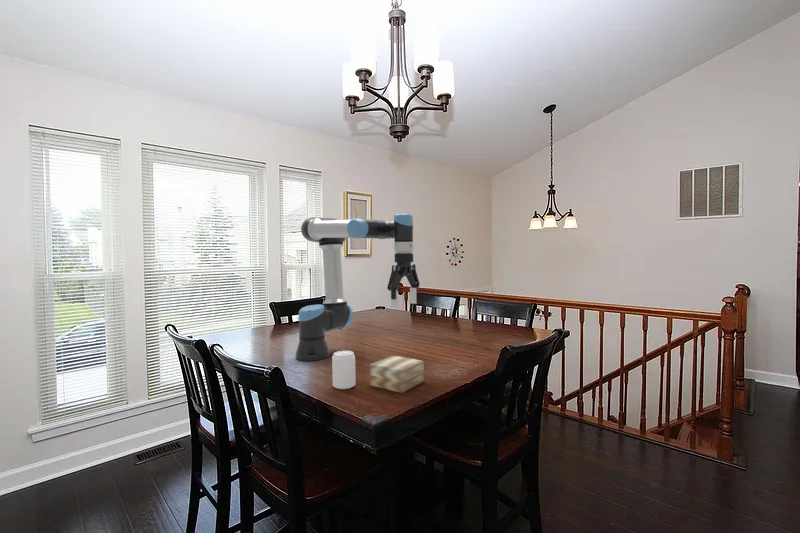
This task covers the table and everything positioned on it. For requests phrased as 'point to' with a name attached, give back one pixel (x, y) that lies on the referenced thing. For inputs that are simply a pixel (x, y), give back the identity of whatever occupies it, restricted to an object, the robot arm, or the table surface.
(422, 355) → the table surface
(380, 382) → the bottom slab
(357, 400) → the table surface
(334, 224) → the robot arm
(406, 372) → the top slab
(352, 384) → the beverage can
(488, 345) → the table surface
